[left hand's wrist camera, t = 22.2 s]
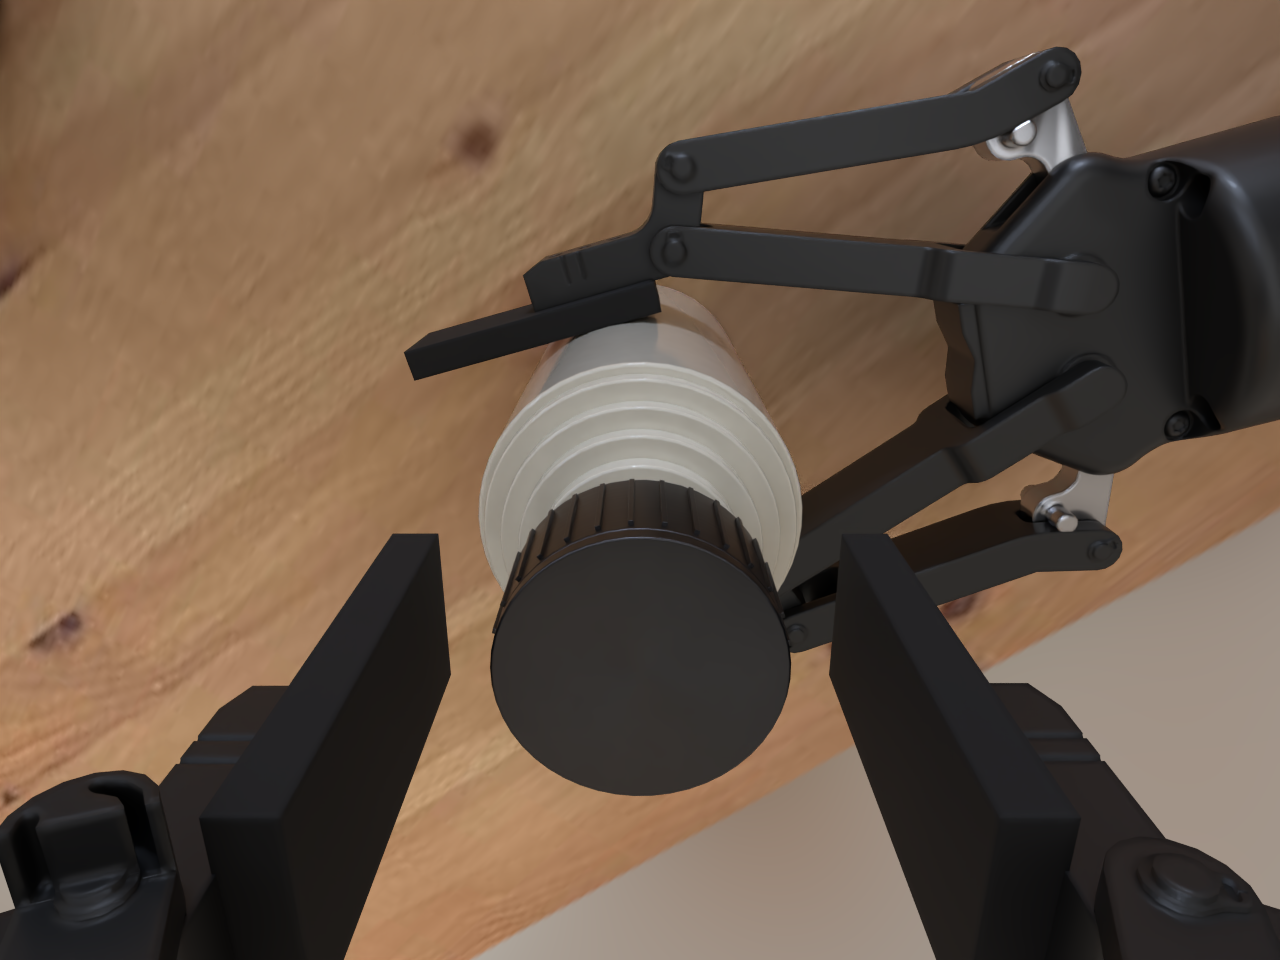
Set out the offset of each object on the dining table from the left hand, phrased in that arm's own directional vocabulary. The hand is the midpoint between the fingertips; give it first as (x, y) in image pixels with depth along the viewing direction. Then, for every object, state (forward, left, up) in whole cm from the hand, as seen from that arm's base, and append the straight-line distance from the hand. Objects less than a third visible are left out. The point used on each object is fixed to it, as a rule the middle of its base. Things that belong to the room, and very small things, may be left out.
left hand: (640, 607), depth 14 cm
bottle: (0, 0, -16) cm, 16 cm away
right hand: (-5, +1, -10) cm, 11 cm away
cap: (0, 0, +2) cm, 2 cm away
